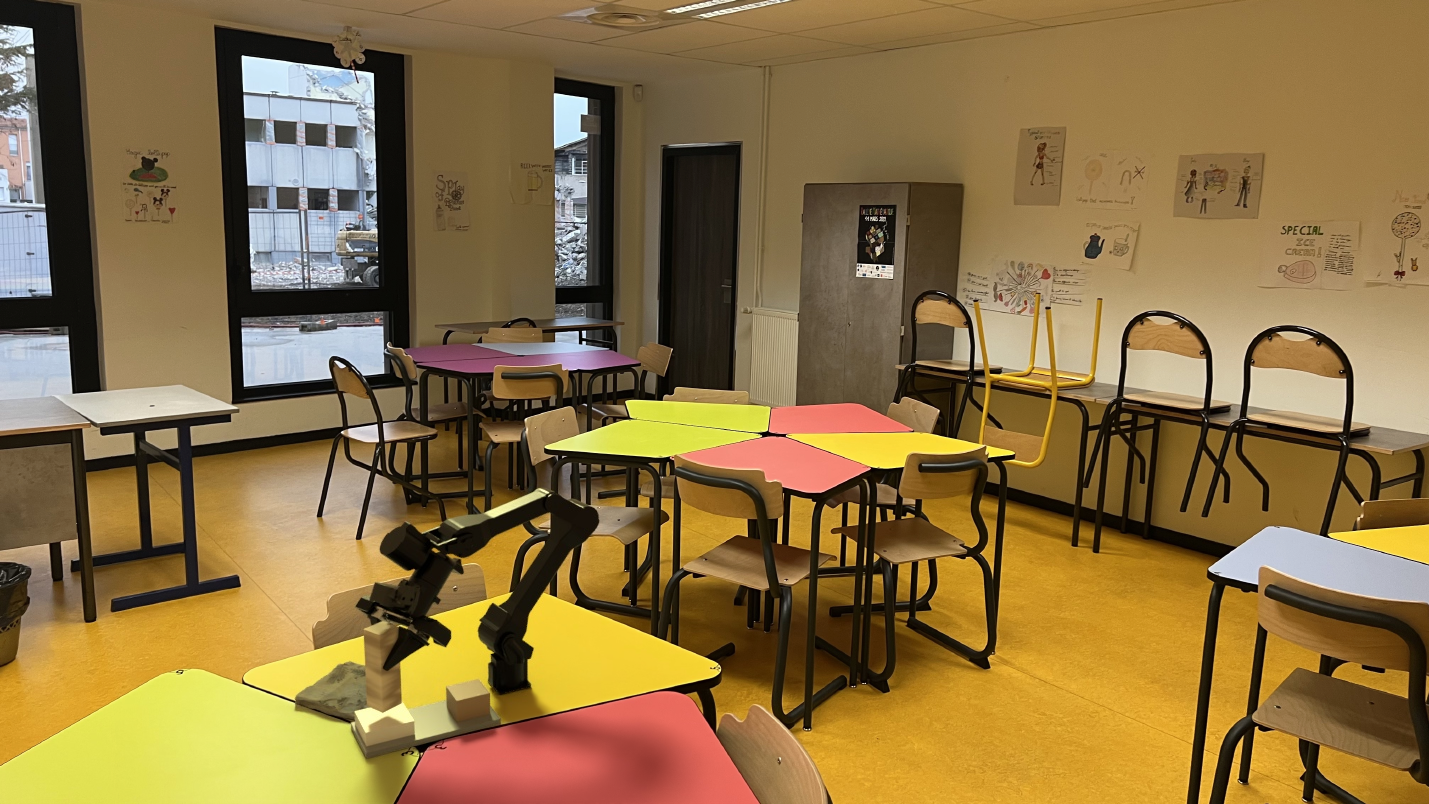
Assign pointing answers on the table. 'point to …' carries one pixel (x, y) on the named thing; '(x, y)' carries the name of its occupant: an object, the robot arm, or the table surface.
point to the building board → (425, 720)
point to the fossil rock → (337, 691)
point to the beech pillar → (381, 667)
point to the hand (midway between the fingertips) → (376, 666)
